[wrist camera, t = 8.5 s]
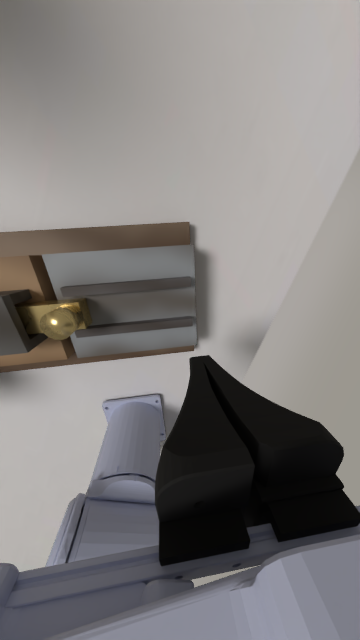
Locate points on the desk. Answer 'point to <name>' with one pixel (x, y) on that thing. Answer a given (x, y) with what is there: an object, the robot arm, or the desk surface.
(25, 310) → the bolt
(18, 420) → the desk surface
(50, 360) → the door mockup
